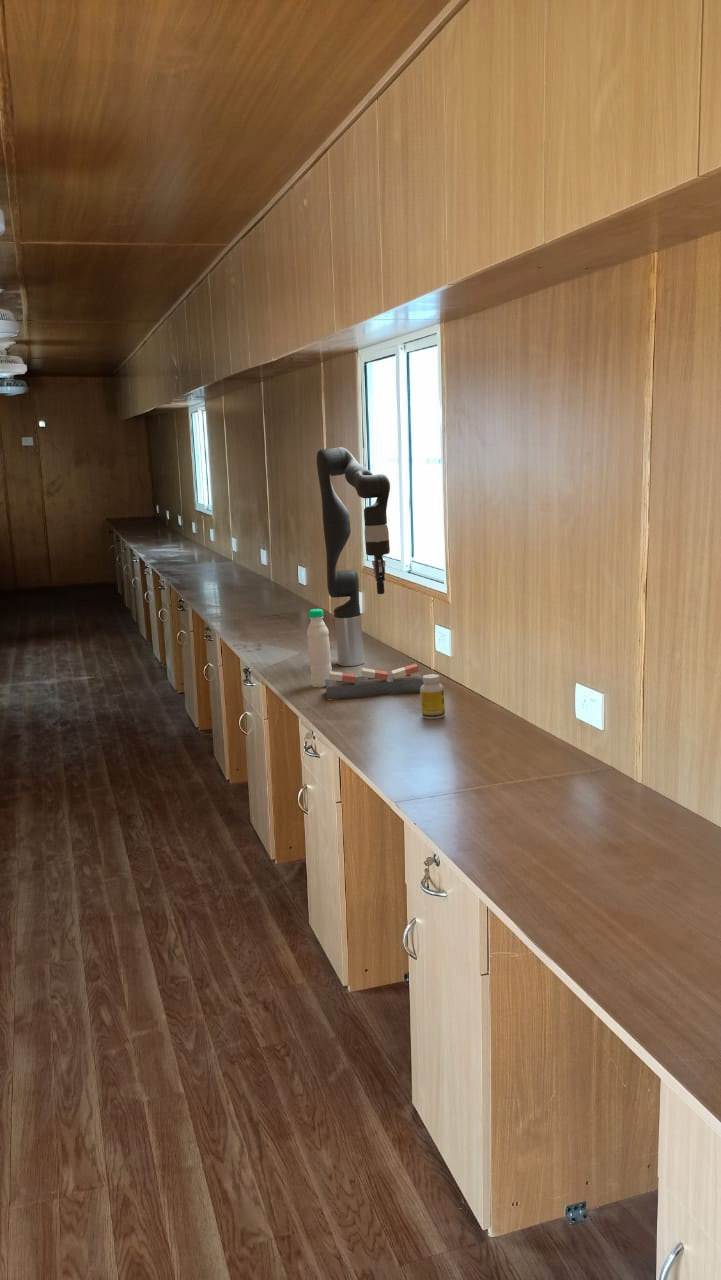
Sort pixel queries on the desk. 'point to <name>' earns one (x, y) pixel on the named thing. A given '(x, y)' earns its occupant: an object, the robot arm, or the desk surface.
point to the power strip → (373, 686)
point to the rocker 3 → (405, 671)
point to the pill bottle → (432, 697)
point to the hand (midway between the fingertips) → (380, 593)
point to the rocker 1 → (341, 676)
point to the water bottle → (318, 649)
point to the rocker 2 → (374, 674)
